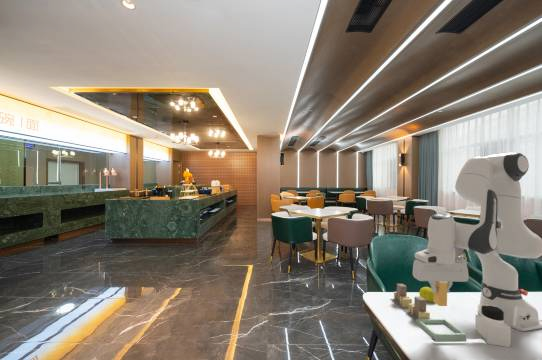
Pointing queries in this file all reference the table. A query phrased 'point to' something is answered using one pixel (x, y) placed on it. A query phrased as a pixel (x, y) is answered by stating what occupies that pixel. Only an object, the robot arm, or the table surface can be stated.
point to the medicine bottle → (493, 326)
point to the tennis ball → (427, 294)
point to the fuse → (441, 293)
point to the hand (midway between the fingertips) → (440, 292)
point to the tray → (443, 337)
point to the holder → (410, 304)
